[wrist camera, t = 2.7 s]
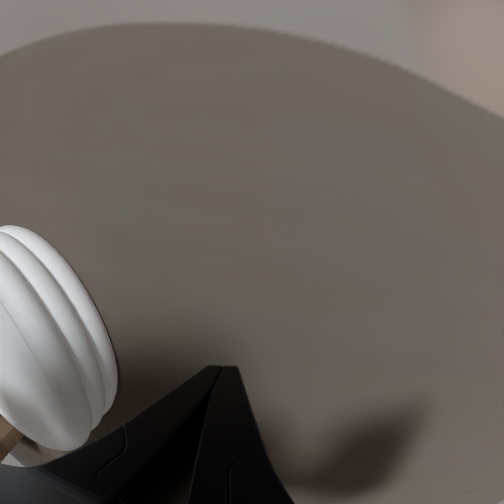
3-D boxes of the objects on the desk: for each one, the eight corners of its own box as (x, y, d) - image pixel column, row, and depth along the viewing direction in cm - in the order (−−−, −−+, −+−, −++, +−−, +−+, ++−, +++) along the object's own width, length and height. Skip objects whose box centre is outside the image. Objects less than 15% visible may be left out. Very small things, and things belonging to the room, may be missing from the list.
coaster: (-30, 279, 11) (-70, 297, 7) (39, 176, 9) (-30, 182, 5) (56, 418, 12) (27, 452, 9) (168, 393, 10) (135, 456, 7)
